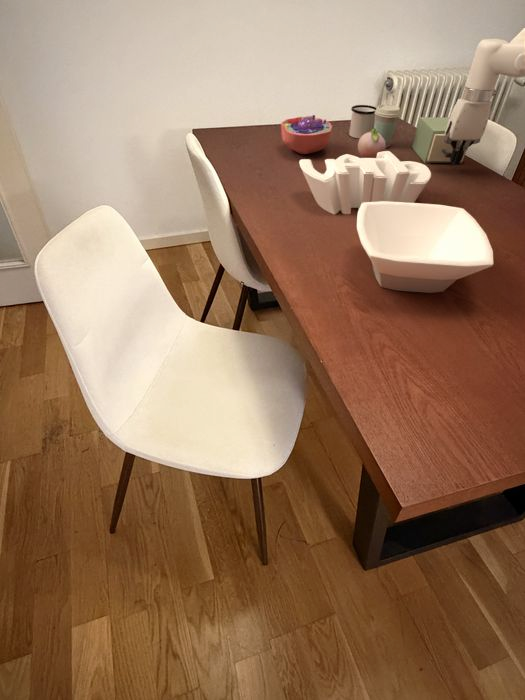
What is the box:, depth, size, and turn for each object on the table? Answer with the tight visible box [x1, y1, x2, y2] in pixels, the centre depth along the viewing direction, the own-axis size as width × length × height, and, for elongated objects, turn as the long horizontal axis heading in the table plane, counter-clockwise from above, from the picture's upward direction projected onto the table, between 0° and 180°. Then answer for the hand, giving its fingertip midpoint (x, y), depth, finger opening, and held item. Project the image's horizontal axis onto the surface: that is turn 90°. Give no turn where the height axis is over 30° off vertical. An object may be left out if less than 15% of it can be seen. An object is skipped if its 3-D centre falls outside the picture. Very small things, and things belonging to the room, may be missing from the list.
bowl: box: [356, 201, 494, 294], centre depth 82 cm, size 24×25×10 cm
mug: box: [348, 104, 377, 140], centre depth 148 cm, size 12×10×9 cm
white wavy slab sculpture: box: [299, 150, 432, 215], centre depth 107 cm, size 35×16×11 cm, turn 91°
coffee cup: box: [373, 104, 401, 149], centre depth 139 cm, size 8×8×12 cm
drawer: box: [427, 134, 468, 161], centre depth 131 cm, size 18×11×8 cm, turn 1°
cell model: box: [280, 114, 333, 155], centre depth 134 cm, size 17×20×11 cm
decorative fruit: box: [357, 129, 386, 158], centre depth 128 cm, size 9×8×10 cm
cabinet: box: [411, 116, 464, 164], centre depth 134 cm, size 15×13×10 cm
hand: (454, 163), depth 125 cm, fingers closed
